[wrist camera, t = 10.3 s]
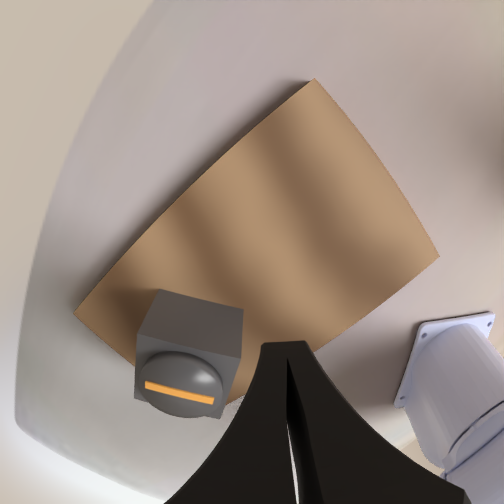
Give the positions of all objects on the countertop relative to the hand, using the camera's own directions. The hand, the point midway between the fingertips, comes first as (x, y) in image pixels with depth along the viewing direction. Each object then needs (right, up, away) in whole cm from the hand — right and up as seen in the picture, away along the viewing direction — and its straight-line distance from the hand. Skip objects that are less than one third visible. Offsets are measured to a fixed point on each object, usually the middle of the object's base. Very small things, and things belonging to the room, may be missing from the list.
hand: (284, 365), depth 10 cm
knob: (-5, -2, +10) cm, 11 cm away
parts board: (-1, +2, +10) cm, 10 cm away
